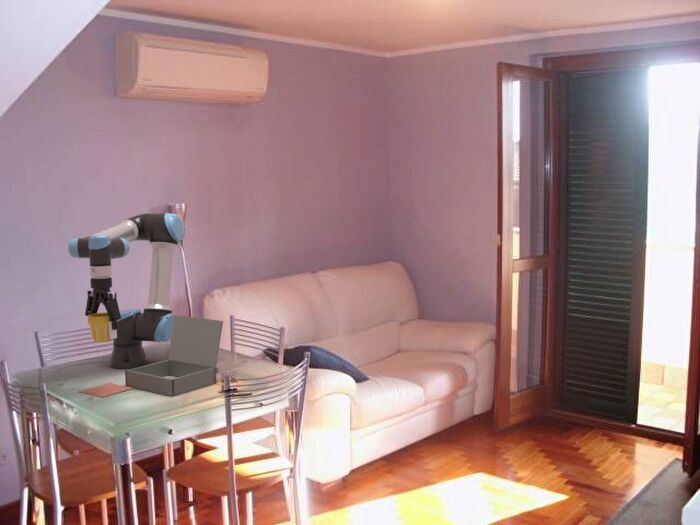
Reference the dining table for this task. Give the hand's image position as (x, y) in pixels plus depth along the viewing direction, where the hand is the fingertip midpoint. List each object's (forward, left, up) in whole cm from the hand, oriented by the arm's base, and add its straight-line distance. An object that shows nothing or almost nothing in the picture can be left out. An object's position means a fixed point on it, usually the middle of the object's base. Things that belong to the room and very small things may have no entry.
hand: (103, 336), depth 288 cm
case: (+14, +19, -20) cm, 31 cm away
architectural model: (+39, +25, -21) cm, 51 cm away
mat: (0, 0, -20) cm, 20 cm away
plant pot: (0, 0, -2) cm, 2 cm away
